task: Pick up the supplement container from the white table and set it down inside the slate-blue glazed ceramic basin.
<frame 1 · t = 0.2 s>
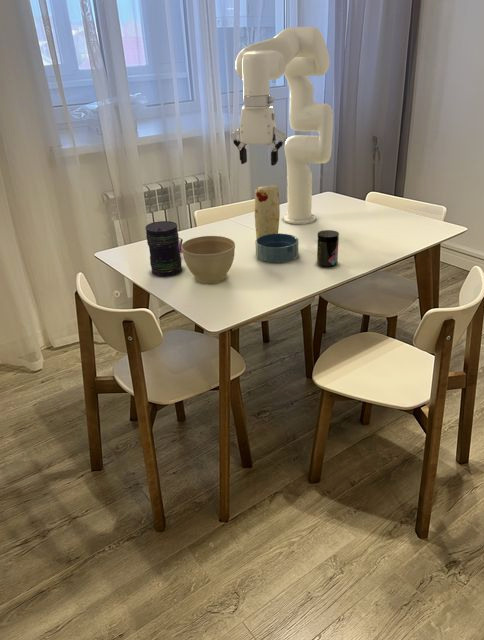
hand: (258, 163, 162), 31 cm above the table, tool pointing down, fingers open, 9 cm apart
supplement container: (327, 265, 173), on the table
pink toy figurine: (177, 254, 186), on the table
food model: (267, 241, 194), on the table
basin: (277, 256, 181), on the table
planter bowl: (211, 278, 167), on the table
storage jar: (167, 271, 173), on the table
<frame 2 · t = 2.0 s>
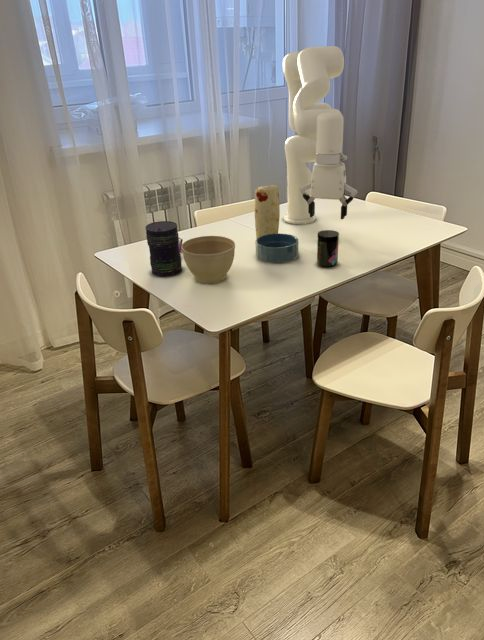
hand: (327, 217, 165), 16 cm above the table, tool pointing down, fingers open, 9 cm apart
nothing on the table moved.
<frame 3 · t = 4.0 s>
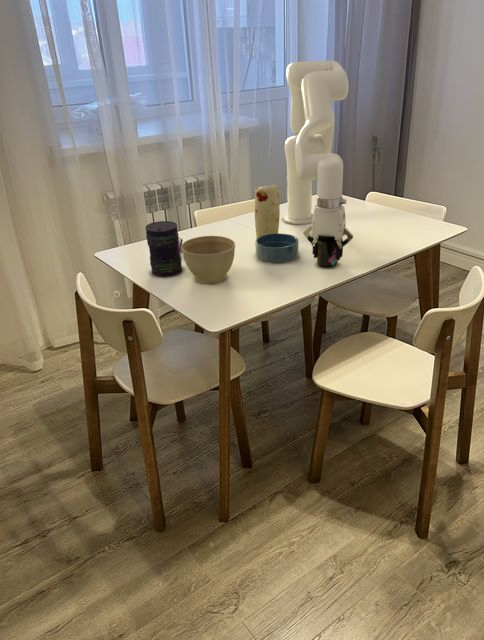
hand: (327, 257, 172), 3 cm above the table, tool pointing down, fingers closed on supplement container, 6 cm apart
supplement container: (327, 265, 173), on the table, touching gripper
everything else where it was.
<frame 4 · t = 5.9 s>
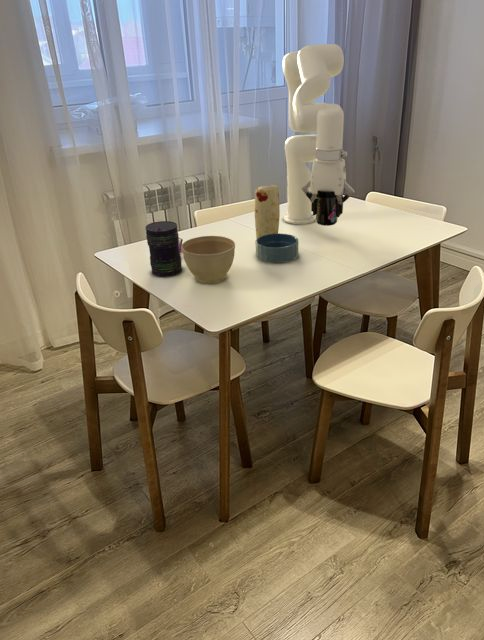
hand: (326, 214, 165), 16 cm above the table, tool pointing down, fingers closed on supplement container, 6 cm apart
supplement container: (326, 223, 167), point 13 cm above the table, touching gripper
everything else where it was.
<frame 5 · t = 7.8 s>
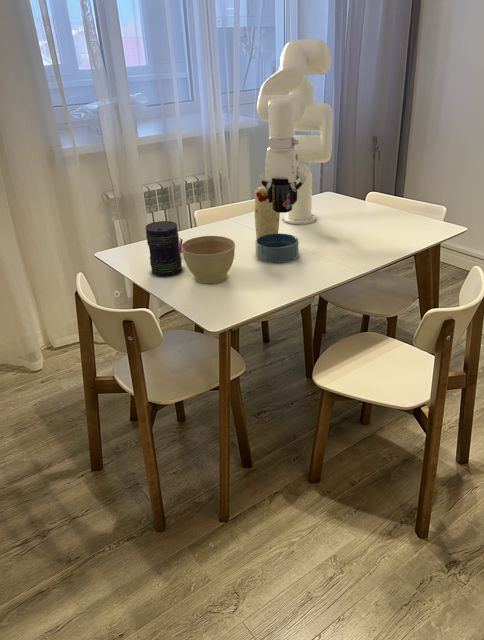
hand: (282, 202, 171), 18 cm above the table, tool pointing down, fingers closed on supplement container, 6 cm apart
supplement container: (282, 210, 172), point 16 cm above the table, touching gripper
everything else where it was.
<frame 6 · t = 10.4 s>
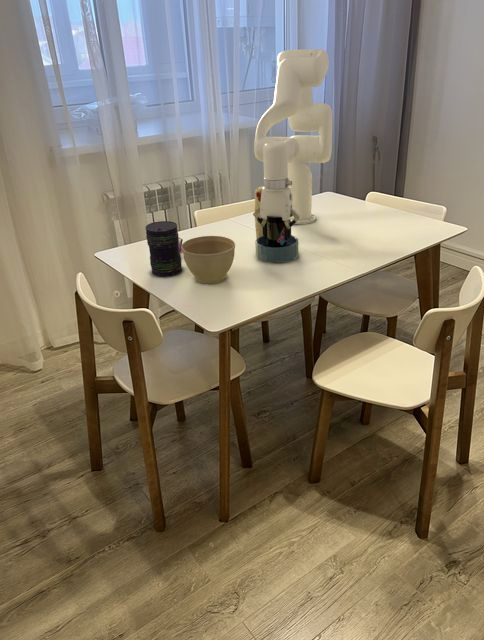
hand: (276, 237, 178), 6 cm above the table, tool pointing down, fingers closed on supplement container, 6 cm apart
supplement container: (277, 245, 179), point 4 cm above the table, touching gripper
everything else where it was.
when the fingers open (3 cm above the table, at t = 12.0 s): supplement container stays where it is, resting on basin.
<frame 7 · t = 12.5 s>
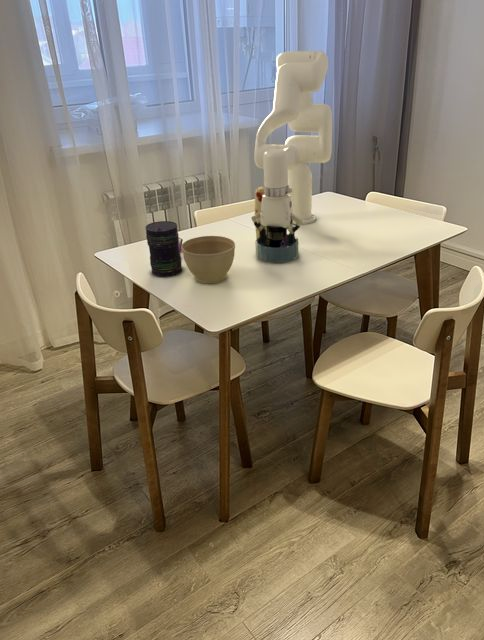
hand: (277, 242, 179), 5 cm above the table, tool pointing down, fingers open, 9 cm apart
supplement container: (277, 254, 181), resting on basin
everything else where it was.
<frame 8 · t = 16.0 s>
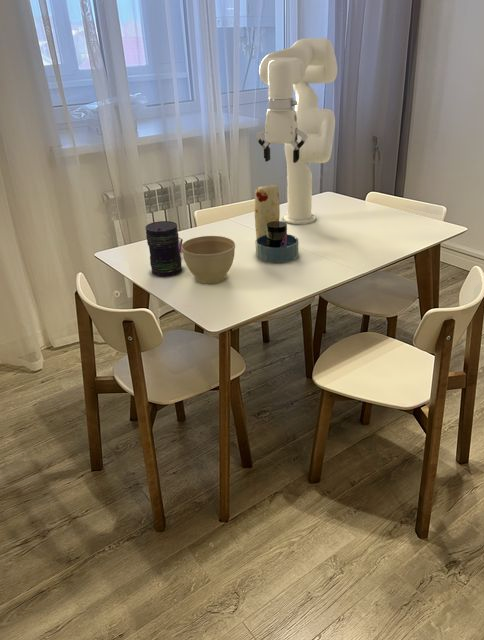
hand: (281, 161, 177), 28 cm above the table, tool pointing down, fingers open, 9 cm apart
nothing on the table moved.
at the end: supplement container inside the target area in the basin (0.0 cm from its centre), point 0.4 cm above the basin's base; the gripper is holding nothing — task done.
